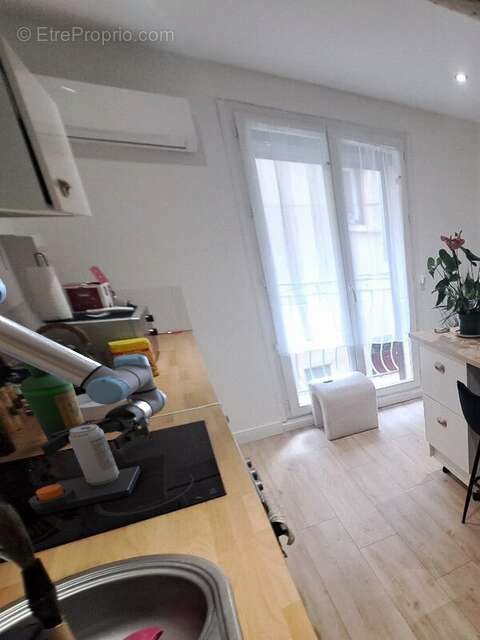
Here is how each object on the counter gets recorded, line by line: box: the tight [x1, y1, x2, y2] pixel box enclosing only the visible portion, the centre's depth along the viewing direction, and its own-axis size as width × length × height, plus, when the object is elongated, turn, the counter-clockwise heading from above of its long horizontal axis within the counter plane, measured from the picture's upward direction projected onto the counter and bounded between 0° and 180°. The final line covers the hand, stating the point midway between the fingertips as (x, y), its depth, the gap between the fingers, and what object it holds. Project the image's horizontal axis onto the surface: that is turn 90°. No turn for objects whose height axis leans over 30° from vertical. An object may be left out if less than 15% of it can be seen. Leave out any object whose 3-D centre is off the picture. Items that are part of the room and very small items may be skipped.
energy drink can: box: [69, 424, 119, 485], centre depth 104 cm, size 6×6×15 cm
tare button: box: [35, 483, 64, 500], centre depth 97 cm, size 4×4×2 cm
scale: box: [28, 465, 142, 516], centre depth 104 cm, size 17×15×4 cm
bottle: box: [18, 361, 85, 442], centre depth 127 cm, size 11×11×28 cm
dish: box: [76, 392, 127, 422], centre depth 154 cm, size 22×22×5 cm
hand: (81, 448), depth 101 cm, fingers open, 13 cm apart
